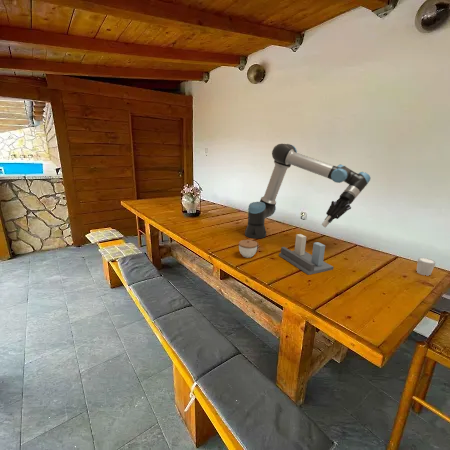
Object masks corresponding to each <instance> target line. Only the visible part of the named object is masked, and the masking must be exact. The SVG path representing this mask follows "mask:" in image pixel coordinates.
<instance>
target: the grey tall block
mask: <svg viewBox="0 0 450 450" xmlns="http://www.w3.org/2000/svg"><path fill="white" fill-rule="evenodd" d="M312 245H313V246H312V253H311V255H312V260H311V262H312V263H313V264H315V265H317V266H321V265H323V261H324V258H325V249H326V245H325V244H323V243H321V242H317V241H316V242H313V244H312Z"/></svg>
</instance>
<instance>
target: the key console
mask: <svg viewBox="0 0 450 450" xmlns="http://www.w3.org/2000/svg"><path fill="white" fill-rule="evenodd" d="M294 252H295V250H291V249H289V248H287V247H286V246H281V247H280V252H279V253H278V256H279V257H280V258H282V259H284V260H285V261H287V262H288V263H289V264H291V265H292V266H294V267H296V268H297V269H299V270H300V271H302V272H303V273H305V274H306V275H313V274H319V273H324V272H329V271H333V270H334V266H333V265H331V264H329V263H328V262H326V261H324V260H323V265H321V266H317V265H315V264H313V263H312V262H311V260H312V253H311V254H310V253H309V252H308V251H305V254H304V255H302V256H300V255H298V254H296V253H294Z"/></svg>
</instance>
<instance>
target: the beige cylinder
mask: <svg viewBox="0 0 450 450" xmlns="http://www.w3.org/2000/svg"><path fill="white" fill-rule="evenodd" d="M436 263H437V262H436V261H435V260H433V259H430V258H428V257H427V258H426V257H418V258H417V265H416V271H417V272H416V273H417V274H419V275H422V276H425V275H426V277H427V276H428V277H429V275H430V276H431V275H432V272H433V270H434V268H435V267H436Z"/></svg>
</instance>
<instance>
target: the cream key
mask: <svg viewBox="0 0 450 450" xmlns="http://www.w3.org/2000/svg"><path fill="white" fill-rule="evenodd" d="M306 243H307V236H306V235H303V234H302V233H299V234H295V243H294V251H295V252H294V253H296V254H298V255H300V256H302V255H304V254H305V252H306V245H307V244H306Z"/></svg>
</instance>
